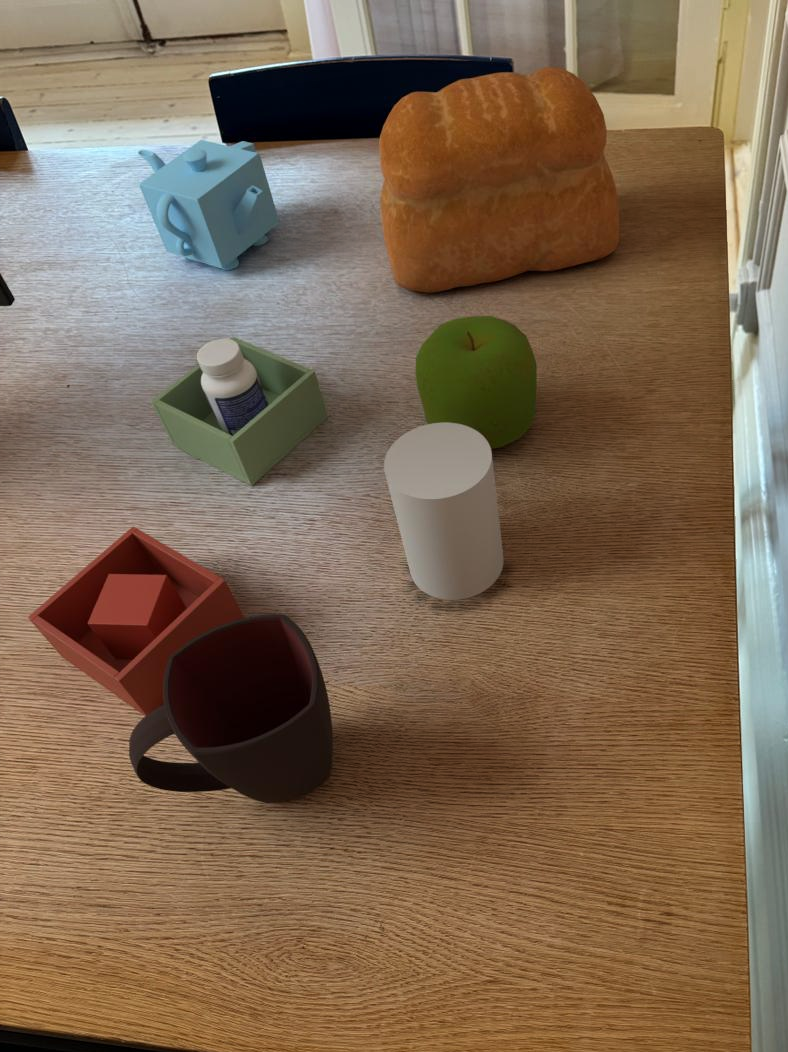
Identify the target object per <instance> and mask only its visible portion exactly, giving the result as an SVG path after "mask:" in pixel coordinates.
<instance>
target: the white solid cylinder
mask: <svg viewBox="0 0 788 1052" xmlns="http://www.w3.org/2000/svg"><path fill="white" fill-rule="evenodd" d="M492 453H493V452H492V449H491V448H490V445H489V443H488V441H487V440H486V439H485V437H484V436H483V435H481V434H480V433H479V432H478V431H476V430H474V429H472V428H470V427H468V426H465V425H461V424H457V423H446V422H445V423H432V424H427V423H426V424H424V425H420V426H418V427H415V428H412V429H410V430H409V431H407V432H405V433H404V434H402V435H401V436H399V437H398V438H397V439H396V440H395V441H394V442H393V443H392V445H391V446H390V447H389V448H388V450H387V452H386V455H385V457H384V461H383V470H384V474H385V478H386V482H387V486H388V490H389V494H390V498H391V502H392V507H393V510H394V513H395V517H396V522H397V525H398V530H399V533H400V537H401V542H402V545H403V550H404V553H405V558H406V561H407V565H408V569H409V573H410V577H411V580H412V581H413V583H414V584H415V586H416V587H417V588H418V589H419V590H420V591H422V592H423V593H425V594H427V595H428V596H430V597H433V598H435V599H439V600H443V601H445V600H446V601H461V600H466V599H469V598H473V597H475V596H478V595H480V594H482V593H484V592H485V591H487V590H488V589H489V588H490V587H492V585H494V584H495V583H496V582H497V580H498V578H499V577H500V576H501V573H502V571H503V568H504V564H505V563H504V559H505V558H504V549H503V542H502V532H501V523H500V522H501V521H500V514H499V507H498V506H499V505H498V497H497V488H496V479H495V471H494V469H495V468H494V462H493V454H492Z"/></svg>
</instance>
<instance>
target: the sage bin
mask: <svg viewBox="0 0 788 1052" xmlns="http://www.w3.org/2000/svg"><path fill="white" fill-rule="evenodd" d="M229 339H231V340H234V341H235V342H237V344H238V345H239V347H240V349H241V352H242V355H243V357H244V359H246V360H248V361H249V362H250V363H251V364H252V365H253V366H254V368H255V370H256V372H257V375H258V377H259V380H260V383H261V386H262V388H263V391H264V394H265V396H266V399H267V402H268V404H269V406H267V407H266V408H265V409H264V410H263V411H262V412H260V413H259V414H258V415H257V416H256V417H255V418H253V419H252V420H251V421H250V422H249V423H248V424H246V425H245V426H244V427H243V428H242V429H241V430H239V431H238V432H237V433H236V434H235V435H234V436H232V435H229V434H227V433H225V432H223V431H221V429H220V427H219V425H218V422H217V420H216V418H215V415H214V413H213V411H212V409H211V406H210V404H209V402H208V400H207V397H206V395H205V393H204V391H203V388H202V385H201V377H202V374H203V371H202V370H201V368H200V365H199V363H197V364H196V365H195V366H194V367H192V368H191V369H190V370H188V371H187V372H186V373H185V374H184V375H182V376H181V377H180V378H179V379H177V380H176V381H175V382H174V383H172V384H171V385H170V386H168V387H167V388H166V389H165V390H164V391H162V392H161V393H159V395H157V396H156V397H154V398H153V399H152V400H150V403H151V405H152V407H153V409H154V411H155V413H156V415H157V416H158V419H159V420H160V423H161V424H162V426H163V429H164V431H165V432H166V434H167V437H168V438H169V441H170V442H171V444H172V446H173V447H176V448H177V449H179V450H181V451H183V452H185V453H186V454H188V455H191V456H192V457H194V458H197V459H199V460H201V461H202V462H204V463H206V464H208V465H210V466H212V467H214V468H216V469H217V470H219V471H222V472H223V473H226V474H227V475H229V476H231V477H233V478H236V479H237V480H239V481H241V482H243V483H245V484H247V485H249V486H251V487H253V486H254V485H255V484H256V483H258V481H259V480H261V478H263V477H264V476H265V475H266V474H267V473H268V472H270V470H272V469H273V468H274V467H275V466H276V465H277V464H278V463H279V462H280V461H281V460H282V459H284V458H285V457H286V456H287V455H288V454H289V453H291V451H293V450H294V449H295V448H296V447H297V446H298V445H299V444H300V443H301V442H302V441H303V440H305V439H306V438H307V437H308V436H309V435H310V434H311V433H313V432H314V431H315V430H316V429H317V428H318V427H319V426H320V425H321V424H322V423H324V422H325V421H326V420H327V419H328V418H329V413H328V410H327V407H326V402H325V400H324V396H323V392H322V390H321V386H320V383H319V380H318V377H317V374H316V371H315V370H313V369H311V368H309V367H306V366H304V365H301V364H300V363H296V362H295V361H292V360H289V359H287V358H285V357H283V356H280V355H278V354H275V353H273V352H271V351H270V350H269V351H268V350H267V349H264V348H261V347H259V346H257V345H254V344H252V343H249V342H247V341H246V340H243V339H240V338H238V337H235V336H232V337H230V338H229Z"/></svg>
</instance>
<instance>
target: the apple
mask: <svg viewBox="0 0 788 1052" xmlns="http://www.w3.org/2000/svg"><path fill="white" fill-rule="evenodd" d="M415 380H416V381H415V382H416V388H417V392H418V395H419V399H420V402H421V406H422V411H423V414H424V417H425V420H426V425H427V424H432V423H445V422H446V423H457V424H461V425H465V426H468V427H470V428H472V429H474V430H476V431H478V432H479V433H480V434H481V435H483V436H484V437H485V439H486V440H487V441H488V443H489V445H490V448H491V450H492V449H497V448H503V447H504V446H506V445H509V444H510V443H512V442H514V441H516V440H518V439H520V438H521V437H522V436H523V435H525V433H526V432H527V431H528V430H529V429H531V427H532V425H533V422H534V419H535V415H536V411H537V410H536V409H537V393H538V364H537V361H536V358H535V354H534V351H533V348H532V346H531V342H530V341H529V338H528V336H527V335H526V334H525V333H524V332H523V331H521V330H520V329H519V328H518V327H517V326H516V325H515V324H514V323H511V322H509V321H508V320H505V319H502V318H499V317H496V316H491V315H471V316H463V317H457V318H454V319H451V320H448V321H446V322H443V323H440V324H439V325H438V327H437V328H436V329H434V330H433V332H431V334H430V335H429V336H428V337H427V338H426V339H425V340H424V341H423V342H422V343H421V345H420V347H419V350H418V352H417V353H416V356H415Z"/></svg>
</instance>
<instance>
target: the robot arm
mask: <svg viewBox="0 0 788 1052" xmlns="http://www.w3.org/2000/svg"><path fill="white" fill-rule="evenodd" d="M15 300H16V298H15V296H14V294H13V292H12V291H11V289H10V288H9V286H8V284H7V282H6V280H5V279H4V277H3V275H2V274H1V272H0V307H11V306H12V305H13V304H14V302H15Z"/></svg>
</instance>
